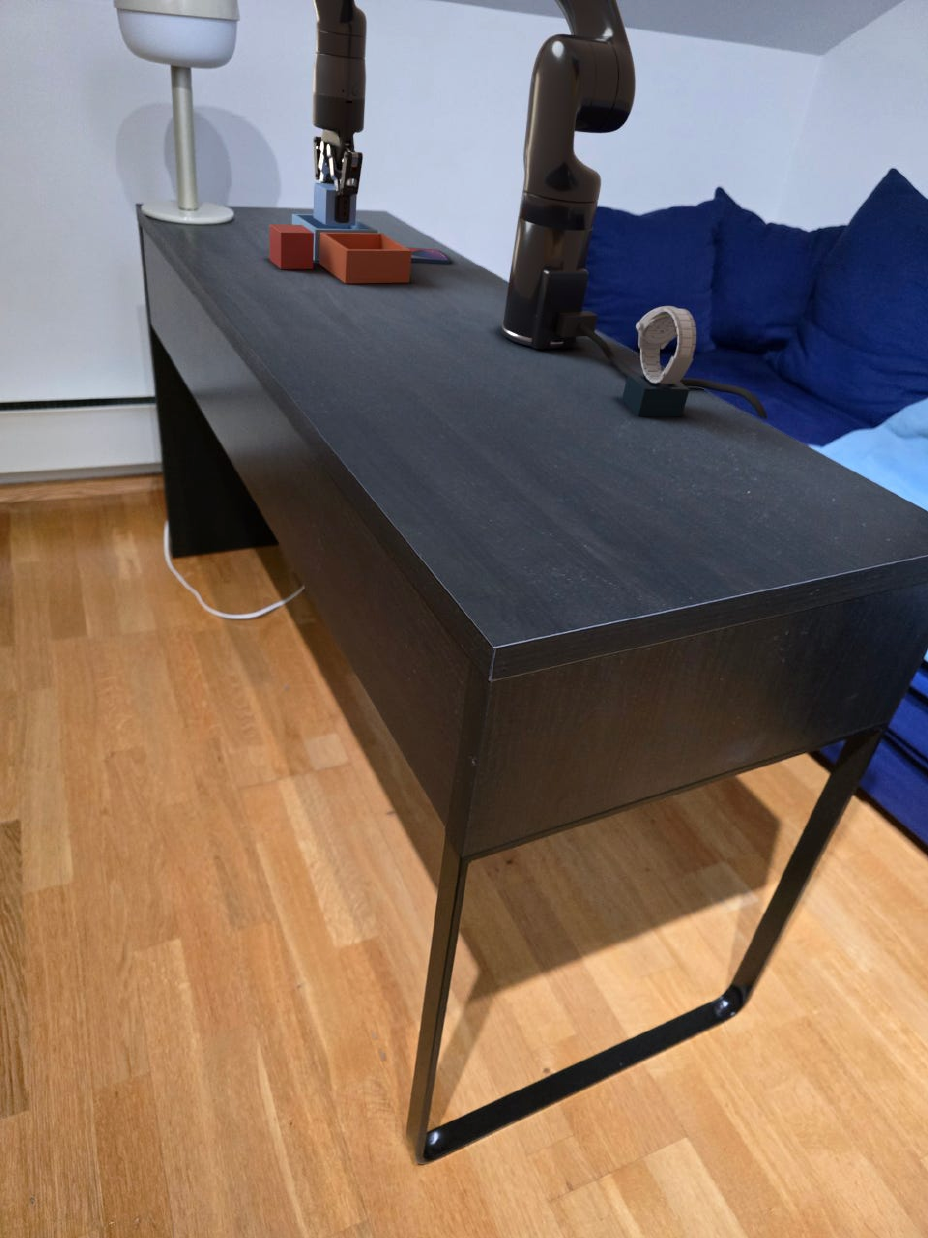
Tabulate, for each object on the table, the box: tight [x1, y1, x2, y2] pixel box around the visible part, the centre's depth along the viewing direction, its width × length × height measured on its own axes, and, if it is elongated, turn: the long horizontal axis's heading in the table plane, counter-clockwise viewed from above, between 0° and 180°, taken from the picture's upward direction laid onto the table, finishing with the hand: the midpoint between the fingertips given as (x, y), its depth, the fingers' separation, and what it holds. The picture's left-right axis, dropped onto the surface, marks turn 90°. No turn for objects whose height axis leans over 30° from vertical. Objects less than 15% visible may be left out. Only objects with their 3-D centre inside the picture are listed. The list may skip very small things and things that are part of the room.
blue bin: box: [291, 213, 378, 262], centre depth 139 cm, size 10×10×4 cm
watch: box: [621, 305, 697, 417], centre depth 96 cm, size 6×8×11 cm
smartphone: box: [405, 246, 451, 265], centre depth 144 cm, size 7×15×1 cm, turn 108°
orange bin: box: [318, 232, 412, 284], centre depth 130 cm, size 10×10×4 cm
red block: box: [269, 223, 314, 270], centre depth 129 cm, size 5×5×5 cm
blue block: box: [313, 182, 358, 226], centre depth 136 cm, size 5×5×5 cm
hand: (334, 217), depth 137 cm, fingers closed on blue block, 5 cm apart
